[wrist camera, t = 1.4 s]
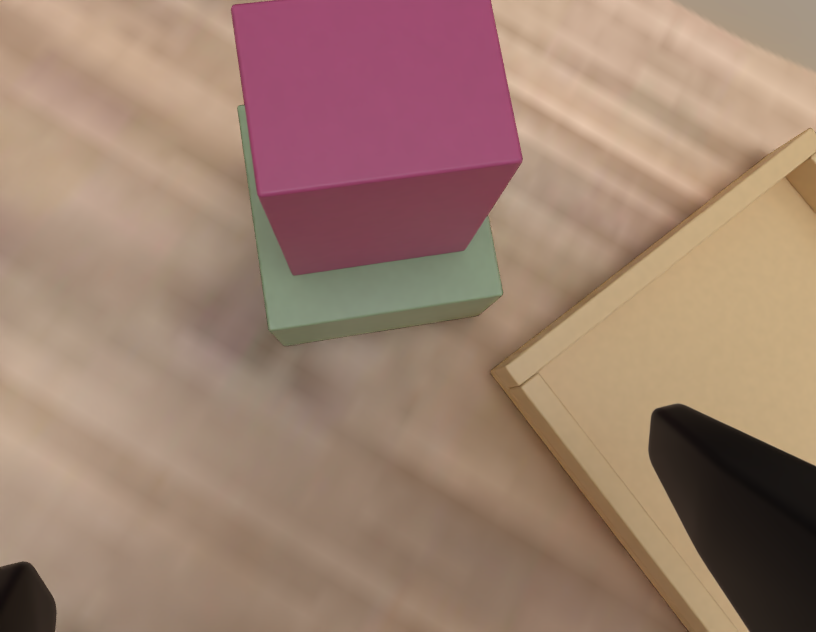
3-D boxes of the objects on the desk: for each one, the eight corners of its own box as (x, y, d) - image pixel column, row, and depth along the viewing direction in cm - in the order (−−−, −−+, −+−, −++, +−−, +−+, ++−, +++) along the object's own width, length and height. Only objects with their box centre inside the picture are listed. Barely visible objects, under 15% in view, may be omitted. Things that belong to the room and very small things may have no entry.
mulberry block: (466, 251, 20) (524, 161, 13) (292, 276, 19) (257, 197, 12) (442, 126, 20) (487, -24, 13) (273, 147, 20) (229, 3, 13)
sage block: (479, 316, 24) (504, 295, 20) (283, 346, 23) (268, 331, 19) (445, 132, 25) (462, 77, 21) (256, 156, 24) (236, 104, 20)
